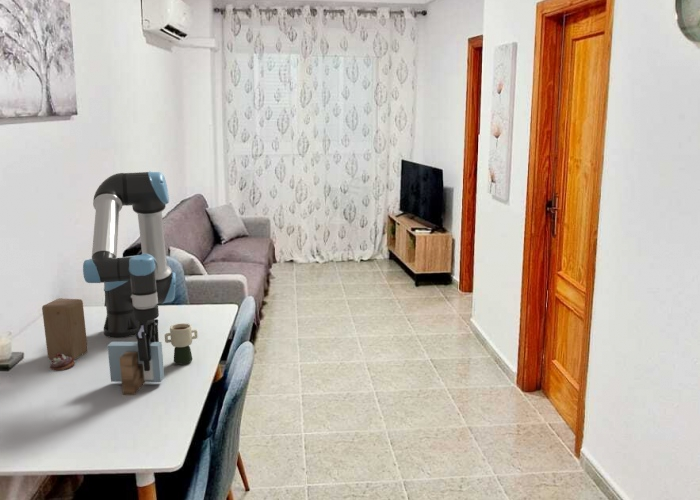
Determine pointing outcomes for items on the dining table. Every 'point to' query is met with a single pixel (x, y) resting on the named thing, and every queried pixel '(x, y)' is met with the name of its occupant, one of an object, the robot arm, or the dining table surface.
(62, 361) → the pastry
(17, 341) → the dining table surface
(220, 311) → the dining table surface
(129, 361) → the wooden stepped blocks
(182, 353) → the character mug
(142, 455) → the dining table surface
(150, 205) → the robot arm
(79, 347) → the wooden block
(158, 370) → the blue arch block
